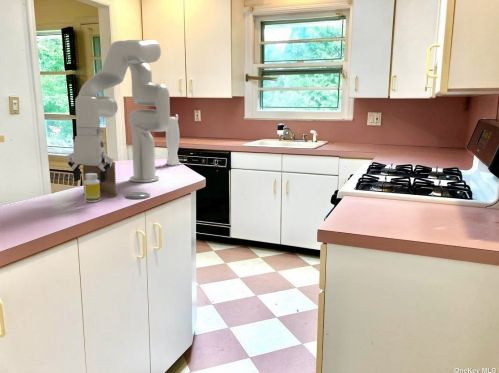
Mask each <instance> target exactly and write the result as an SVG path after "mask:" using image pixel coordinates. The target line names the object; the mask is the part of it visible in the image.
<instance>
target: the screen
mask: <svg viewBox="0 0 499 373" xmlns="http://www.w3.org/2000/svg"><path fill="white" fill-rule="evenodd" d="M107 163H108V161H106V163H105V165H106V164H107ZM100 171H101V169H100V168H99V166H93V165H82V174H83V181H84V180H86V178H85V174H87V173H96V174H97V180H99V182H100ZM116 179H117V178H116V161H113V163H112V165H111V167H110V168H109V169H108V170H107V180H106V182H103V183H102V182H100V197H107V198H113V199H114V198H115V197H117V196H118V192H117V182H116ZM82 195H83V197H84V192H83V193H82Z"/></svg>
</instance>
